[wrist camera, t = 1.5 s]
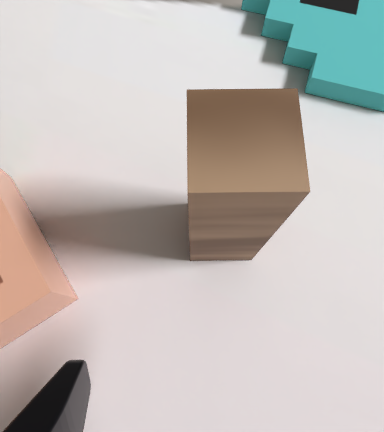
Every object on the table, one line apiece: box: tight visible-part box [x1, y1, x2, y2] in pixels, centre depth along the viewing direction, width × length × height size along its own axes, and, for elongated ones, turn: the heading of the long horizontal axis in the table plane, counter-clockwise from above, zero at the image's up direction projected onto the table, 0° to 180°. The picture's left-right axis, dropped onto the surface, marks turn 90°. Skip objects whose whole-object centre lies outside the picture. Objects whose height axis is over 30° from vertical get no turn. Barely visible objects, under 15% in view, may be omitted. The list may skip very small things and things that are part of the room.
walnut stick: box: [187, 89, 310, 261], centre depth 18 cm, size 4×4×12 cm
